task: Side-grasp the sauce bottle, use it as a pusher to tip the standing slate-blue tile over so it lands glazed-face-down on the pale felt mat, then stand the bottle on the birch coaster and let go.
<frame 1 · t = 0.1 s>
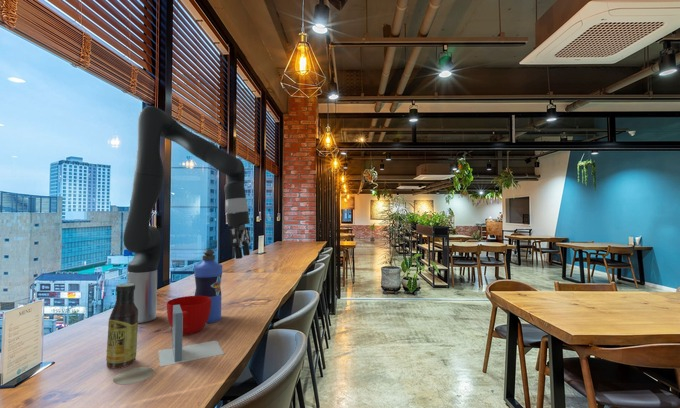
hand: (243, 257, 119), 22 cm above the bar counter, tool pointing down, fingers open, 8 cm apart
coaster: (134, 377, 77), on the bar counter
mat: (191, 353, 90), on the bar counter
ceramic cup: (187, 334, 105), on the bar counter
tile: (176, 354, 88), resting on mat
water bottle: (207, 320, 119), on the bar counter
sauce bottle: (121, 365, 83), on the bar counter
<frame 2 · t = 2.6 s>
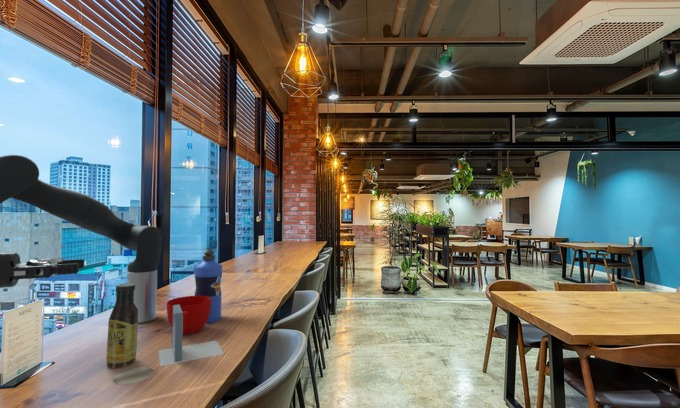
hand: (81, 265, 80), 25 cm above the bar counter, tool horizontal, fingers open, 8 cm apart
nothing on the bar counter moved.
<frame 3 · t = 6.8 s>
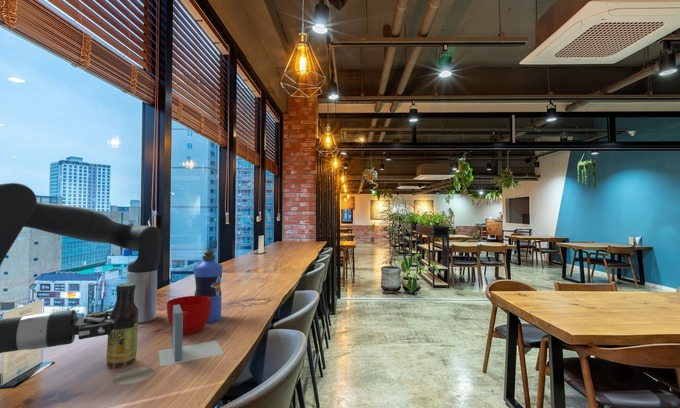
hand: (134, 318, 85), 11 cm above the bar counter, tool horizontal, fingers closed on sauce bottle, 6 cm apart
sauce bottle: (121, 365, 83), on the bar counter, touching gripper
everything else where it was.
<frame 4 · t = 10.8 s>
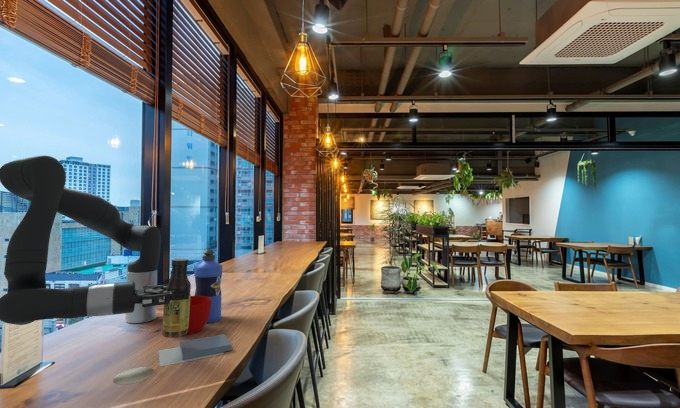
hand: (187, 291, 90), 17 cm above the bar counter, tool horizontal, fingers closed on sauce bottle, 6 cm apart
tile: (180, 350, 89), point 1 cm above the bar counter, tilted 90°, touching mat
sauce bottle: (176, 335, 88), point 5 cm above the bar counter, touching gripper
everything else where it was.
when the fingers open (12 cm above the bar counter, at t = 14.9 s): sauce bottle stays where it is, resting on coaster.
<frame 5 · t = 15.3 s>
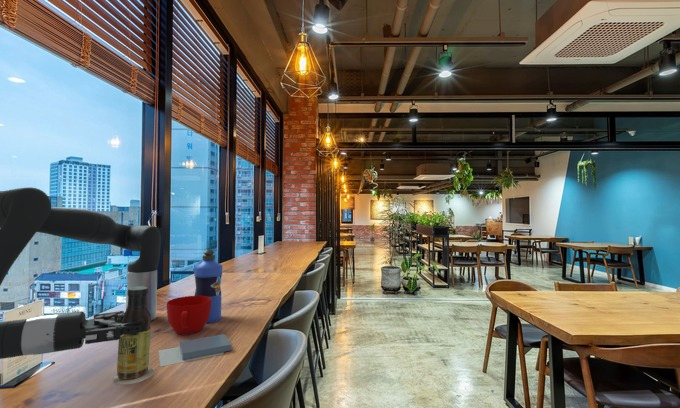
hand: (144, 320, 78), 13 cm above the bar counter, tool horizontal, fingers open, 8 cm apart
sauce bottle: (133, 375, 77), resting on coaster
everything else where it was.
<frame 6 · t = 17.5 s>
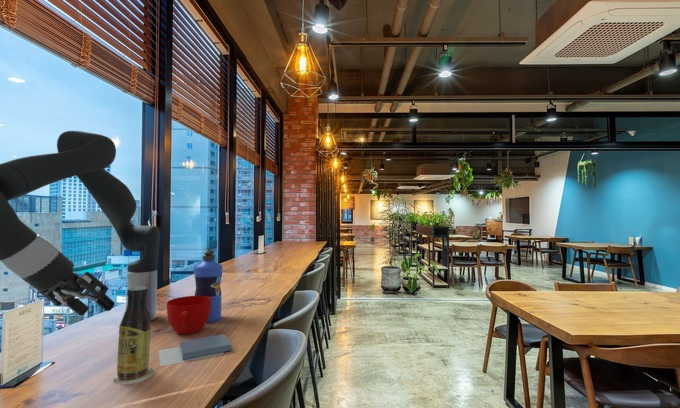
hand: (98, 309, 77), 16 cm above the bar counter, tool tilted 40°, fingers open, 8 cm apart
nothing on the bar counter moved.
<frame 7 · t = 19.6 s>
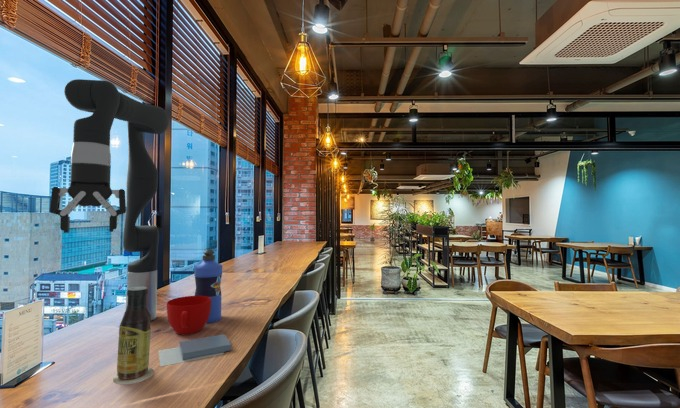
hand: (89, 232, 79), 33 cm above the bar counter, tool pointing down, fingers open, 8 cm apart
nothing on the bar counter moved.
at the end: tile tilted 90°; sauce bottle 0.1 cm from the coaster (horizontally); sauce bottle tilted 0° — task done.
